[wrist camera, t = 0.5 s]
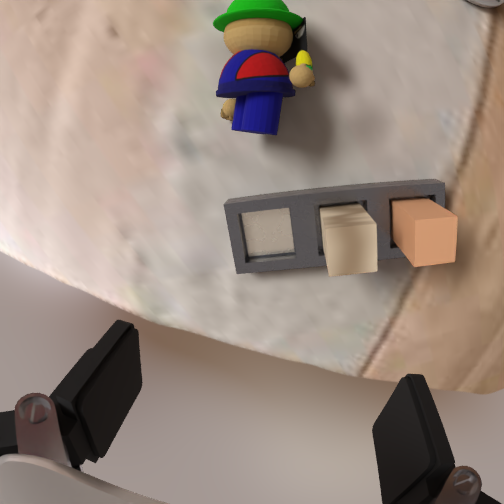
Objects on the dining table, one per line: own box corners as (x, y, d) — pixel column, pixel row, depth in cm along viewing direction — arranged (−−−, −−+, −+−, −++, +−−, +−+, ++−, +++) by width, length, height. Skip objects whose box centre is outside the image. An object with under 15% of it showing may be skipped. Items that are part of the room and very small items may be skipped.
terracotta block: (425, 197, 31) (457, 216, 24) (426, 234, 33) (454, 261, 25) (390, 200, 32) (415, 220, 25) (391, 238, 34) (414, 267, 26)
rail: (435, 178, 31) (444, 182, 29) (434, 244, 34) (443, 252, 32) (228, 199, 36) (223, 204, 33) (240, 264, 38) (236, 274, 36)
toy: (342, 137, 26) (335, -14, 20) (255, 137, 22) (251, -40, 16) (268, 133, 35) (266, 16, 30) (197, 136, 31) (195, 7, 26)
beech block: (359, 202, 33) (376, 223, 25) (361, 241, 34) (377, 271, 27) (318, 206, 33) (325, 228, 26) (322, 245, 35) (329, 276, 28)
